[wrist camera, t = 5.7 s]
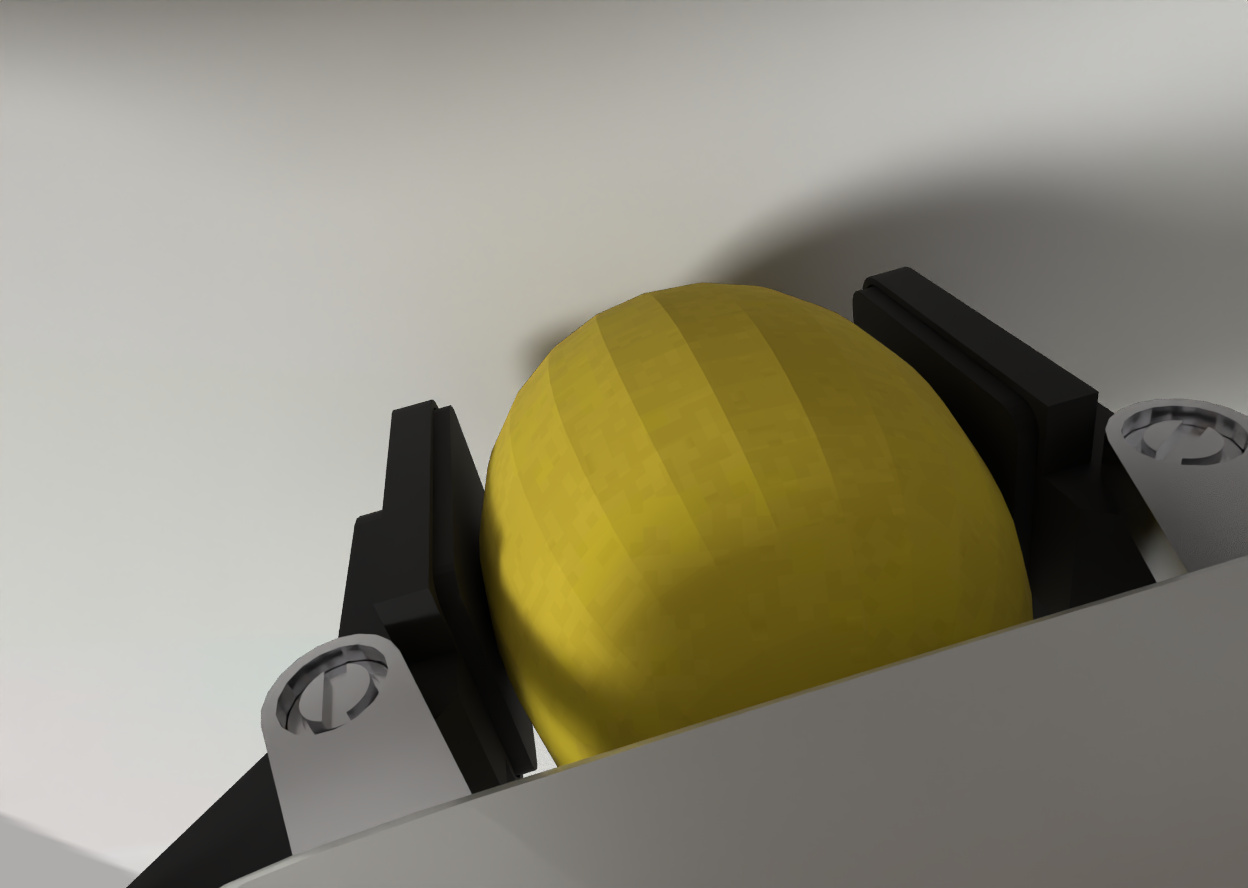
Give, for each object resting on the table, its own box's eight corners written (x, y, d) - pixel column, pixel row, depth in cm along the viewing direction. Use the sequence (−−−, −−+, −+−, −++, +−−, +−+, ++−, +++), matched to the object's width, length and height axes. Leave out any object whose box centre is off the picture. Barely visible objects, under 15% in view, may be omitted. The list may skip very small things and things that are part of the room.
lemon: (387, 372, 12) (325, 921, 5) (700, 122, 11) (1127, 387, 4) (612, 586, 15) (763, 1123, 8) (875, 400, 14) (1300, 826, 7)
